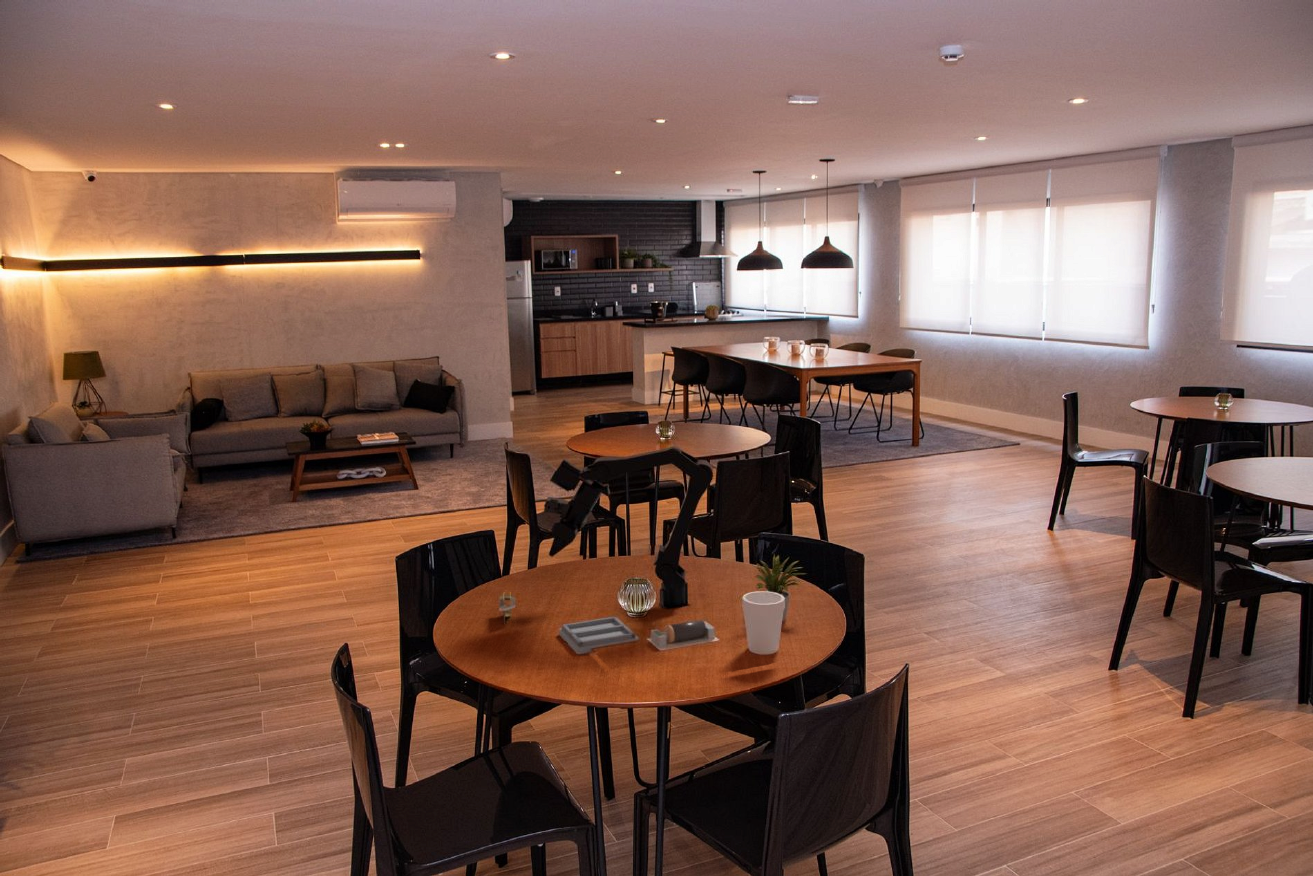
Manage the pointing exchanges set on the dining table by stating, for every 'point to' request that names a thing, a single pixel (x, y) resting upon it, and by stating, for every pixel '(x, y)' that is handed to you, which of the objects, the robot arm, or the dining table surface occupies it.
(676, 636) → the battery cell
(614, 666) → the dining table surface
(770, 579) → the house plant
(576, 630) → the two-compartment grey tray
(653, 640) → the checker cradle
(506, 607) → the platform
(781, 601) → the foam cup
